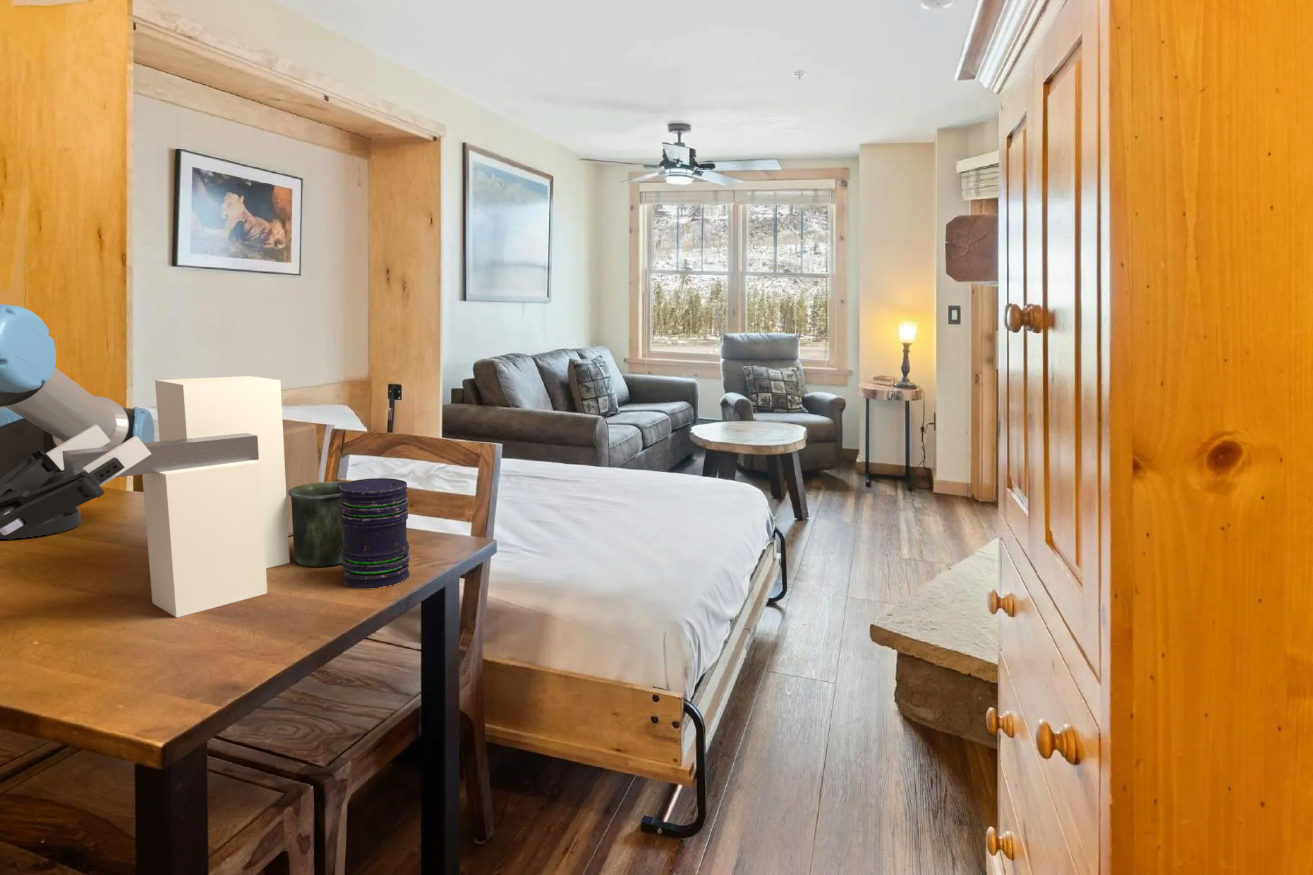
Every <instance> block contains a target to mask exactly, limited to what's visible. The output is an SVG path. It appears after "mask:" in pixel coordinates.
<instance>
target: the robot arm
mask: <svg viewBox="0 0 1313 875" xmlns="http://www.w3.org/2000/svg"><path fill="white" fill-rule="evenodd" d="M49 334H50V329H49V328H48V325H46V324H45V322H44V320H42V318H41V317H40V316H38V315H37V314H36V313H34V312H33V311H31V310H30V309H27V308H26V307H23V306H20V305H19V306H18V305H12V304H4V303H0V539H8V540H7V541H11V540H16V539H15V538H23V539H28V538H27V537H31V538H34V537H33V536H38V537H43V536H42V535H45V536H49V535H55V534H58V533H59V534H60V533H62V532H66V531H68V530H69V531H71V530H72V529H74V528H76V527H79V526H81V524H82V515H81V510H80V507H79V506H81V505H83V504H85V503H88V502H89V501H91V500H93V499H97V498H100V497H102V496H103V495H104V494H105V490H104V489H103V488H102V486H104V485H106V484H107V483H108V482H110V481H112V480H113V479H115V477H116V476H118V475H119V474H121V473H122V472H124V471H126V470H127V469H129V468H130V467H132V466H133V465H135V464H137V463H138V462H140V461H141V460H143V459H144V458H146V457H148V456H149V455H151V453H150V451H149V450H148V449H147V448H146V446H145V445H144V444H143V443H149V442H155V425H154V424H155V423H154V420H153V416H152V414H151V412H150V410H149V409H147V408H143V407H137V406H134V407H133V408H131V407H123V406H122V405H120V404H119V403H118V402H116V401H115V400H112V399H111V398H108V397H105V396H100V395H92V394H91V393H89V391H87V390H86V389H85V388H83V386H81V385H79V384H78V383H77V382H76V381H74V380H73V379H71V378H70V377H69V376H68V375H66V374H65V373H64V372H62V371H61V370H59V369H58V368H57V367H56V363H57V351H56V345H55V341H54V338H53V337H52V336H49ZM108 446H118V447H116V448H114V449H113V450H111V451H110V452H108V453H106V454H105V455H103V456H101V457H100V458H98V459H96V460H95V461H93V462H92V463H90V464H88V465H87V466H85V467H83V470H84V472H81V473H78V474H76V475H73V476H71V477H68V478H65V473H64V462H63V452H62V451H68V450H78V449H88V448H98V447H108ZM54 533H55V534H54Z"/></svg>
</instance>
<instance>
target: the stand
mask: <svg viewBox="0 0 1313 875" xmlns="http://www.w3.org/2000/svg"><path fill="white" fill-rule="evenodd" d="M281 381H282V380H281V379H274V378H267V377H260V376H252V375H243V376H221V377H220V376H219V377H217V376H216V377H198V378H197V377H196V378H195V377H193V378H174V379H173V378H171V379H170V378H169V379H155V380H154V384H155V385H154V386H155V395H156V396H155V397H156V398H155V399H156V410H157V411H156V412H157V422H158V423H157V424H158V437H159V438H158V439H159V441H169V440H179V439H189V438H200V437H210V436H220V435H230V434H240V433H249V434H253V435H257V436H258V453H259V460H253V461H257V462H260V472H261V490H262V507H263V525H264V543H265V561H266V569H270V568H273V567H278V566H282V565H283V566H284V565H287V564H290V563H291V562H290V561H291V560H290V559H291V558H290V542H289V540H290V539H289V536H288V519H287V499H286V480H285V460H284V440H283V407H282V406H283V405H282V387H281V386H282V384H281Z"/></svg>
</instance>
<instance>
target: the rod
mask: <svg viewBox="0 0 1313 875" xmlns="http://www.w3.org/2000/svg"><path fill="white" fill-rule="evenodd" d="M143 444H144V445H145V446H146V448H147V449H148V450H149V451H150V453H151V455H149V456H148V457H146V458H144V459H143V460H141V461H140V462H138V463H137V464H135V465H133V466H132V467H130V468H129V469H127V470H126V471H124V472H122V473H121V474H119V475H118V476H116V477H115V478H123V477H131V476H139V475H140V476H142V474H148V473H156V472H164V471H172V470H180V469H188V468H196V467H204V466H211V465H219V464H227V463H235V462H243V461H251V460H259V453H258V436H257V435H253V434H249V433H240V434H230V435H220V436H210V437H200V438H189V439H179V440H169V441H160V440H159V441H154V442H149V443H143ZM116 447H118V446H108V447H98V448H88V449H78V450H68V451H62V452H63V462H64V473H65V478H68V477H71V476H73V475H76V474H78V473H81V472H84V470H83V467H85V466H87V465H88V464H90V463H92V462H93V461H95V460H96V459H98V458H100V457H101V456H103V455H105V454H106V453H108V452H110V451H111V450H113V449H114V448H116ZM115 478H114V479H115Z"/></svg>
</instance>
